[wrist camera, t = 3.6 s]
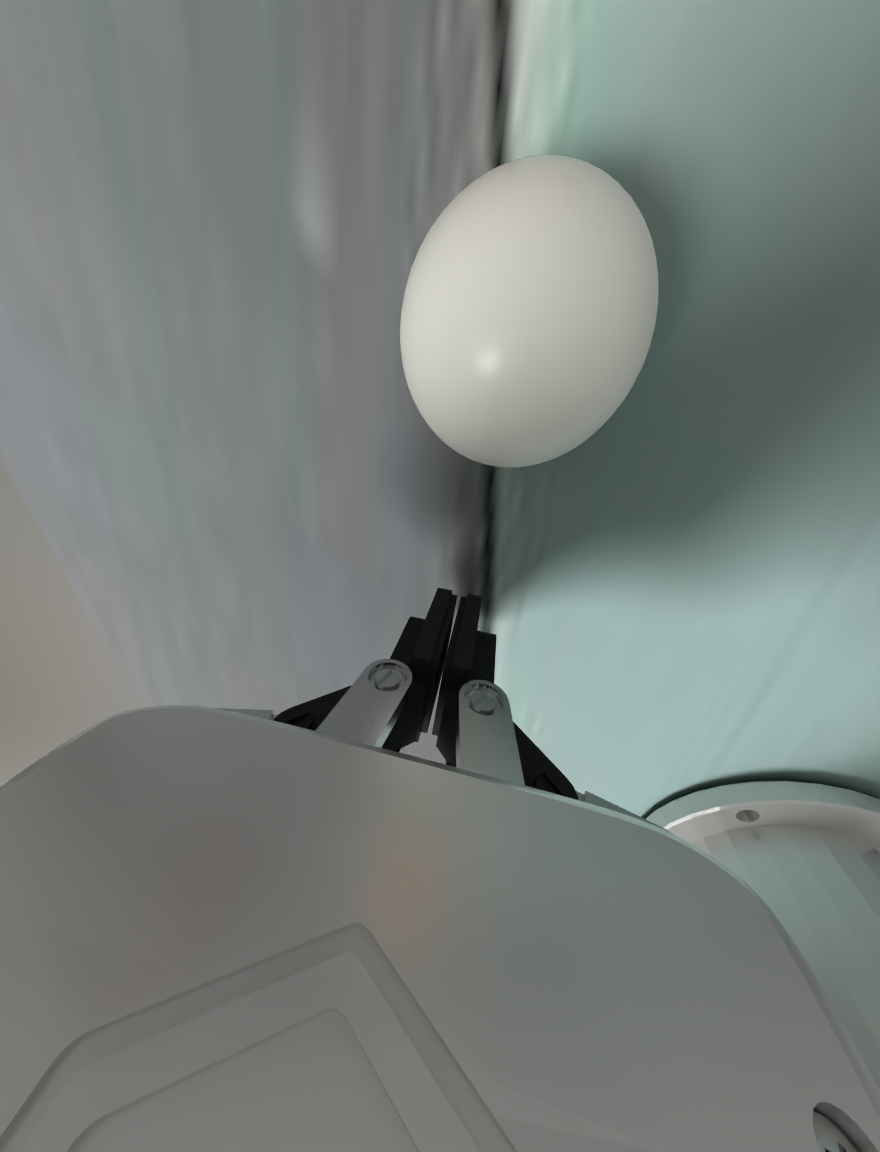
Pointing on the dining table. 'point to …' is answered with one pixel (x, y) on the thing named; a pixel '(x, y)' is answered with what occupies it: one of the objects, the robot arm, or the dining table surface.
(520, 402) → the white egg
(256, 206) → the dining table surface
